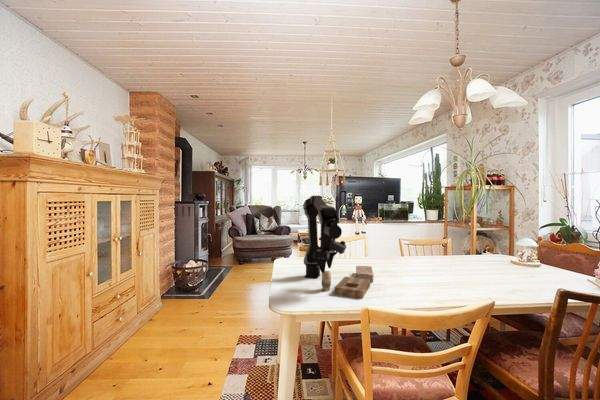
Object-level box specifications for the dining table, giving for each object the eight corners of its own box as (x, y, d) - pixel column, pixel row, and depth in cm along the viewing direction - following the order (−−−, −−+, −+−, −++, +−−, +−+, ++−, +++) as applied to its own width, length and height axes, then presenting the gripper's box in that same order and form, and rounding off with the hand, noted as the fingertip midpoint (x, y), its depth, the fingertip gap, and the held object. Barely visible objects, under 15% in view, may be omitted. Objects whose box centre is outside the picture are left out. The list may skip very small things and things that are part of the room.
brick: (373, 283, 138) (373, 273, 138) (356, 282, 140) (356, 272, 140) (371, 274, 155) (371, 266, 155) (356, 273, 156) (356, 265, 156)
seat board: (334, 294, 122) (334, 287, 122) (344, 282, 138) (345, 276, 138) (362, 298, 117) (362, 291, 117) (370, 286, 133) (370, 279, 133)
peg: (320, 290, 126) (320, 272, 126) (323, 287, 130) (323, 270, 130) (329, 291, 124) (329, 273, 124) (332, 289, 128) (332, 271, 128)
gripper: (338, 239, 115) (338, 278, 115) (349, 234, 132) (349, 267, 133) (313, 237, 120) (312, 274, 120) (326, 232, 137) (326, 264, 137)
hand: (326, 270), depth 127 cm, fingers open, 9 cm apart
